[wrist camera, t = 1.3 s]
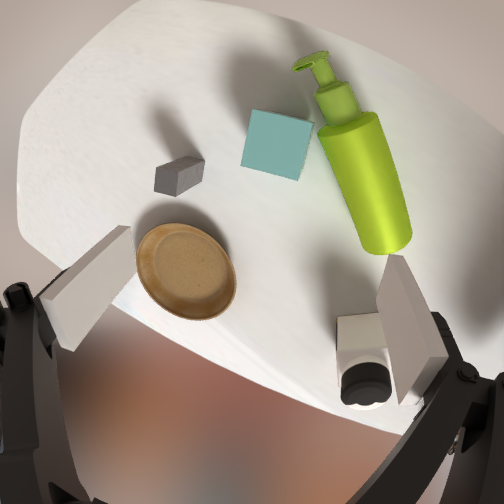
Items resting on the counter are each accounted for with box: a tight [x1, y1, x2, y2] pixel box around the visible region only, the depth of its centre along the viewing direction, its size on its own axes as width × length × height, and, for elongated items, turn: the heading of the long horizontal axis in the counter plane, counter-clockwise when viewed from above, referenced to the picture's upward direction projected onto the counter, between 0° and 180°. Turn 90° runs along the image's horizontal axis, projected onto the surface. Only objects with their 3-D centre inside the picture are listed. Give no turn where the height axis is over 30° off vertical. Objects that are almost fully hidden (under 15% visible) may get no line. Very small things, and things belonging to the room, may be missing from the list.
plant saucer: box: [136, 223, 236, 321], centre depth 41 cm, size 15×15×3 cm
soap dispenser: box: [292, 51, 412, 255], centre depth 25 cm, size 6×7×20 cm
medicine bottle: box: [336, 313, 392, 410], centre depth 35 cm, size 7×7×12 cm
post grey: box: [154, 157, 205, 197], centre depth 32 cm, size 3×3×7 cm
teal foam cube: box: [241, 109, 315, 181], centre depth 28 cm, size 5×5×7 cm
